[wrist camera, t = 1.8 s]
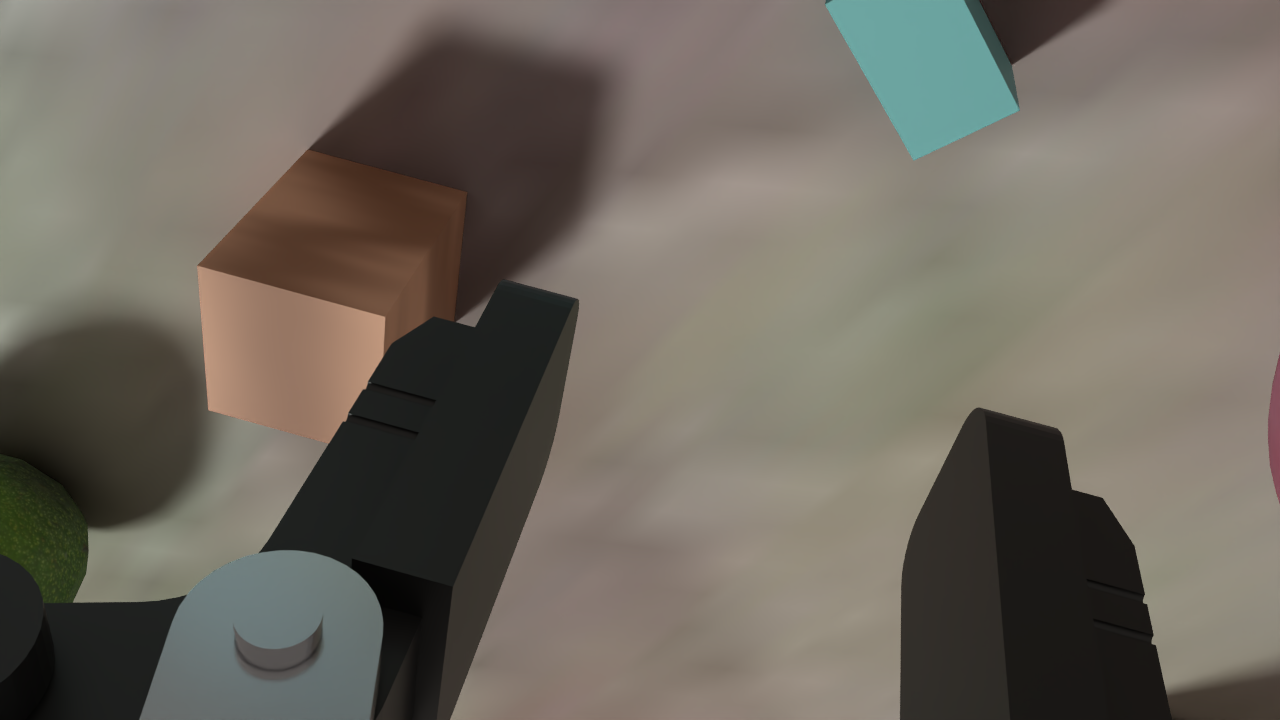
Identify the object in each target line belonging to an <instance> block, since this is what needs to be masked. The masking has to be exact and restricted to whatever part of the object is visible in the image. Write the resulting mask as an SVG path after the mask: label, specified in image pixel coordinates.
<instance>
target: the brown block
mask: <svg viewBox="0 0 1280 720" xmlns="http://www.w3.org/2000/svg"><path fill="white" fill-rule="evenodd" d="M466 200H467V192H465V191H462V190H458V189H454V188H450V187H447V186H443V185H439V184H435V183H432V182H428V181H424V180H420V179H417V178H413V177H409V176H405V175H402V174H398V173H394V172H390V171H387V170H383V169H379V168H375V167H371V166H368V165H364V164H360V163H356V162H353V161H349V160H345V159H341V158H338V157H334V156H330V155H326V154H323V153H319V152H315V151H311V150H307V151H306V152H305V153H304V154H303V155H302V156H301V157H300V158H299V159H298V160H297V161H296V162H295V163H294V164H293V166H292V167H291V168H290V169H289V170H288V171H287V172H286V173H285V174H284V175H283V176H282V177H281V178H280V179H279V180H278V181H277V182H276V183H275V184H274V186H273V187H272V188H271V189H270V190H269V191H268V192H267V193H266V194H265V195H264V196H263V197H262V198H261V199H260V200H259V201H258V202H257V203H256V204H255V206H254V207H253V208H252V209H251V210H250V211H249V212H248V213H247V214H246V215H245V216H244V217H243V218H242V219H241V220H240V221H239V222H238V223H237V224H236V226H235V227H234V228H233V229H232V230H231V231H230V232H229V233H228V234H227V235H226V236H225V237H224V238H223V239H222V240H221V241H220V242H219V243H218V244H217V246H216V247H215V248H214V249H213V250H212V251H211V252H210V253H209V254H208V255H207V256H206V257H205V258H204V259H203V260H202V261H201V262H200V263H199V264H198V266H197V269H198V282H199V295H200V307H201V320H202V333H203V346H204V359H205V372H206V385H207V398H208V410H209V411H213V412H217V413H220V414H224V415H227V416H231V417H235V418H238V419H242V420H246V421H249V422H253V423H256V424H260V425H264V426H267V427H271V428H274V429H278V430H282V431H285V432H289V433H292V434H296V435H300V436H303V437H307V438H310V439H314V440H318V441H321V442H325V443H328V444H329V443H330V441H331V440H332V438H333V436H334V435H335V433H336V432H337V430H338V428H339V427H340V425H341V424H342V422H343V421H345V422H346V420H347V417H348V412H349V411H350V409H351V408H352V406H353V404H354V403H355V401H356V400H357V398H358V396H359V395H360V393H361V392H362V390H363V389H366V387H367V384H368V380H369V379H370V377H371V376H372V374H373V372H374V371H375V369H376V368H377V366H378V364H379V363H380V361H381V360H382V358H383V356H384V355H385V353H386V352H387V350H388V348H389V347H390V345H391V344H392V343H393V342H395V341H396V340H398V339H399V338H401V337H402V336H404V335H406V334H407V333H409V332H410V331H412V330H413V329H415V328H416V327H418V326H420V325H421V324H423V323H424V322H426V321H427V320H429V319H431V318H432V317H438V318H441V319H445V320H449V321H453V322H454V318H455V308H456V299H457V289H458V279H459V269H460V259H461V250H462V240H463V230H464V220H465V210H466Z"/></svg>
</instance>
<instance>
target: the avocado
mask: <svg viewBox="0 0 1280 720" xmlns="http://www.w3.org/2000/svg"><path fill="white" fill-rule="evenodd" d="M0 554H1V555H4V556H7V557H8V558H10V559H12V560H14V561H15V562H17V563H19V564H20V565H21V566H22V567H23V568H25V569H26V570H27V571H28V572H29V573H30V574H31V575H32V577H33V578H34V580H35V581H36V583H37V584H38V586H39V589H40V592H41V595H42V598H43V602H44V603H73V601H74V598H75V596H76V594H77V592H78V590H79V588H80V585H81V583H82V581H83V579H84V577H85V575H86V570H87V560H88V526H87V523H86V521H85V519H84V517H83V515H82V512H81V511H80V510H79V508H78V507H77V505H76V504H75V503H74V501H73V500H72V498H71V497H70V495H69V494H68V493H67V491H66V490H65V488H64V487H63V486H62V485H61V484H60V483H58V482H57V481H55V480H53V479H52V478H50V477H49V476H47V475H45V474H44V473H42V472H41V471H39V470H37V469H36V468H34V467H33V466H31V465H30V464H28V463H26V462H25V461H23V460H21V459H17V458H13V457H10V456H6V455H2V454H0Z"/></svg>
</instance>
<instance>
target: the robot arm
mask: <svg viewBox="0 0 1280 720" xmlns="http://www.w3.org/2000/svg"><path fill="white" fill-rule="evenodd" d="M578 309H579V300H578V299H576V298H572V297H568V296H565V295H561V294H557V293H553V292H550V291H546V290H542V289H538V288H535V287H531V286H527V285H524V284H520V283H516V282H512V281H509V280H505V279H503V280H502V281H501V282H500V283H499V284H498V286H497V288H496V290H495V291H494V293H493V295H492V297H491V299H490V301H489V303H488V304H487V306H486V308H485V310H484V312H483V314H482V316H481V318H480V319H479V321H478V323H477V325H476V327H471V326H467V325H464V324H460V323H456V322H453V321H449V320H445V319H441V318H438V317H432V318H431V319H429V320H427V321H426V322H424V323H423V324H421V325H420V326H418V327H416V328H415V329H413V330H412V331H410V332H409V333H407V334H406V335H404V336H402V337H401V338H399V339H398V340H396V341H395V342H393V343H392V344H391V345H390V347H389V348H388V350H387V352H386V353H385V355H384V356H383V358H382V360H381V361H380V363H379V364H378V366H377V368H376V369H375V371H374V372H373V374H372V376H371V377H370V379H369V380H368V384H367V387H366V389H363V390H362V392H361V393H360V395H359V396H358V398H357V400H356V401H355V403H354V404H353V406H352V408H351V409H350V411H349V412H348V417H347V420H346V422H345V421H343V422H342V424H341V425H340V427H339V428H338V430H337V432H336V433H335V435H334V436H333V438H332V440H331V441H330V443H329V444H328V446H327V448H326V449H325V451H324V452H323V454H322V456H321V457H320V459H319V460H318V462H317V464H316V465H315V467H314V468H313V470H312V472H311V473H310V475H309V476H308V478H307V480H306V481H305V483H304V484H303V486H302V488H301V489H300V491H299V492H298V494H297V496H296V497H295V499H294V500H293V502H292V504H291V505H290V507H289V508H288V510H287V512H286V513H285V515H284V516H283V518H282V520H281V521H280V523H279V524H278V526H277V528H276V529H275V531H274V532H273V534H272V536H271V537H270V539H269V540H268V542H267V543H266V544H265V546H264V547H263V548H262V550H261V551H260V552H259V553H258V554H254V555H250V556H246V557H243V558H240V559H238V560H235V561H233V562H230V563H228V564H226V565H224V566H222V567H221V568H219V569H217V570H215V571H213V572H212V573H211V574H209V575H208V576H207V577H205V578H204V579H203V580H201V581H200V582H199V583H198V584H197V585H196V586H195V587H194V588H193V589H192V590H191V591H190V592H189V593H188V594H187V595H185V596H181V597H177V598H172V599H166V600H160V601H149V602H104V603H44V602H43V598H42V595H41V592H40V589H39V586H38V584H37V583H36V581H35V580H34V578H33V577H32V575H31V574H30V573H29V572H28V571H27V570H26V569H25V568H23V567H22V566H21V565H20V564H19V563H17V562H15V561H14V560H12V559H10V558H8V557H7V556H4V555H1V554H0V720H450V718H451V715H452V713H453V710H454V708H455V705H456V702H457V700H458V697H459V695H460V692H461V689H462V687H463V684H464V681H465V679H466V676H467V674H468V671H469V668H470V666H471V663H472V661H473V658H474V655H475V653H476V650H477V647H478V645H479V642H480V640H481V637H482V634H483V632H484V629H485V627H486V624H487V621H488V619H489V616H490V613H491V611H492V608H493V606H494V603H495V600H496V598H497V595H498V593H499V590H500V587H501V585H502V582H503V579H504V577H505V574H506V572H507V569H508V566H509V564H510V561H511V558H512V556H513V553H514V551H515V548H516V545H517V543H518V540H519V538H520V535H521V532H522V530H523V527H524V524H525V522H526V519H527V517H528V514H529V511H530V509H531V506H532V504H533V501H534V498H535V496H536V493H537V490H538V488H539V485H540V482H541V480H542V477H543V474H544V471H545V468H546V465H547V461H548V458H549V455H550V451H551V447H552V444H553V440H554V436H555V432H556V428H557V423H558V418H559V413H560V408H561V402H562V397H563V392H564V386H565V381H566V376H567V370H568V365H569V359H570V354H571V349H572V343H573V338H574V333H575V327H576V322H577V316H578ZM1144 595H1145V593H1144V588H1143V584H1142V579H1141V574H1140V570H1139V565H1138V560H1137V556H1136V551H1135V546H1134V545H1133V543H1132V542H1131V540H1130V539H1129V537H1128V536H1127V534H1126V533H1125V531H1124V530H1123V528H1122V526H1121V525H1120V523H1119V522H1118V520H1117V519H1116V517H1115V516H1114V514H1113V513H1112V511H1111V510H1110V508H1109V507H1108V505H1107V504H1106V502H1105V501H1104V499H1103V498H1101V497H1097V496H1094V495H1090V494H1086V493H1082V492H1079V491H1075V490H1072V488H1071V482H1070V476H1069V470H1068V464H1067V457H1066V451H1065V445H1064V440H1063V436H1062V434H1061V432H1060V431H1059V430H1058V429H1057V428H1054V427H1050V426H1046V425H1042V424H1039V423H1035V422H1031V421H1028V420H1024V419H1020V418H1016V417H1013V416H1009V415H1005V414H1001V413H998V412H994V411H990V410H987V409H983V408H976V409H974V410H973V411H972V412H971V413H970V414H969V416H968V417H967V419H966V421H965V422H964V424H963V426H962V428H961V430H960V432H959V434H958V436H957V438H956V440H955V442H954V444H953V446H952V448H951V450H950V452H949V454H948V456H947V458H946V460H945V462H944V464H943V466H942V468H941V471H940V473H939V475H938V477H937V479H936V481H935V483H934V485H933V487H932V489H931V491H930V493H929V495H928V497H927V499H926V501H925V503H924V505H923V507H922V509H921V511H920V513H919V515H918V517H917V519H916V521H915V524H914V527H913V529H912V532H911V535H910V539H909V542H908V546H907V550H906V554H905V559H904V565H903V571H902V584H901V685H900V720H1172V718H1171V714H1170V709H1169V704H1168V700H1167V695H1166V690H1165V686H1164V681H1163V676H1162V672H1161V667H1160V662H1159V658H1158V653H1157V649H1156V645H1153V644H1152V643H1151V641H1152V637H1153V630H1152V625H1151V621H1150V616H1149V611H1148V607H1147V604H1144V603H1143V598H1144Z"/></svg>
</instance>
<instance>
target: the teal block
mask: <svg viewBox="0 0 1280 720" xmlns="http://www.w3.org/2000/svg"><path fill="white" fill-rule="evenodd" d="M825 5H826V7H827V9H828V11H829V12H830V14H831V16H832V18H833V19H834V21H835V23H836V25H837V26H838V28H839V30H840V32H841V34H842V35H843V37H844V39H845V41H846V42H847V44H848V46H849V48H850V49H851V51H852V53H853V55H854V56H855V58H856V60H857V62H858V63H859V65H860V67H861V69H862V71H863V72H864V74H865V76H866V78H867V79H868V81H869V83H870V85H871V86H872V88H873V90H874V92H875V93H876V95H877V97H878V99H879V100H880V102H881V104H882V106H883V107H884V109H885V111H886V113H887V115H888V116H889V118H890V120H891V122H892V123H893V125H894V127H895V129H896V130H897V132H898V134H899V136H900V137H901V139H902V141H903V143H904V144H905V146H906V148H907V150H908V152H909V153H910V155H911V157H912V159H913V160H916V159H918V158H920V157H922V156H924V155H927V154H929V153H931V152H933V151H935V150H937V149H939V148H941V147H943V146H946V145H948V144H950V143H952V142H954V141H956V140H958V139H960V138H962V137H965V136H967V135H969V134H971V133H973V132H975V131H977V130H979V129H982V128H984V127H986V126H988V125H990V124H992V123H994V122H996V121H998V120H1001V119H1003V118H1005V117H1007V116H1009V115H1011V114H1013V113H1015V112H1017V111H1020V109H1019V103H1018V98H1017V92H1016V86H1015V81H1014V75H1013V70H1012V65H1011V63H1010V61H1009V59H1008V57H1007V55H1006V53H1005V51H1004V49H1003V47H1002V45H1001V43H1000V41H999V39H998V37H997V35H996V33H995V31H994V29H993V27H992V25H991V23H990V21H989V19H988V17H987V15H986V13H985V11H984V9H983V7H982V5H981V3H980V1H979V0H826V2H825Z"/></svg>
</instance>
